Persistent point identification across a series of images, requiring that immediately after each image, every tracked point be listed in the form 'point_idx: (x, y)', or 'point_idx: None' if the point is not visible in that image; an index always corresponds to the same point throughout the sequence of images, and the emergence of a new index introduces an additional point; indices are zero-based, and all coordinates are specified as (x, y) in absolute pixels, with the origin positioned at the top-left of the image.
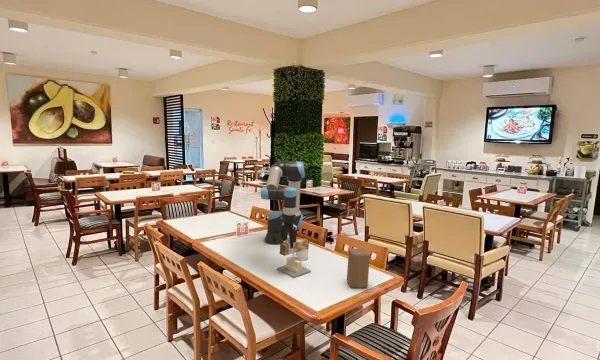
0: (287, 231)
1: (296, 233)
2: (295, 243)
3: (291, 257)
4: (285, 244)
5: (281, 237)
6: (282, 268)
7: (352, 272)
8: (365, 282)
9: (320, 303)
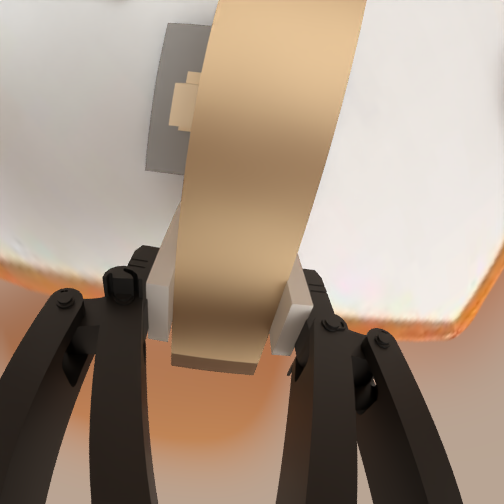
0: (150, 478)
1: (443, 468)
2: (309, 208)
3: (190, 87)
4: (228, 345)
5: (86, 356)
6: (178, 151)
7: None
8: None
9: (460, 290)
